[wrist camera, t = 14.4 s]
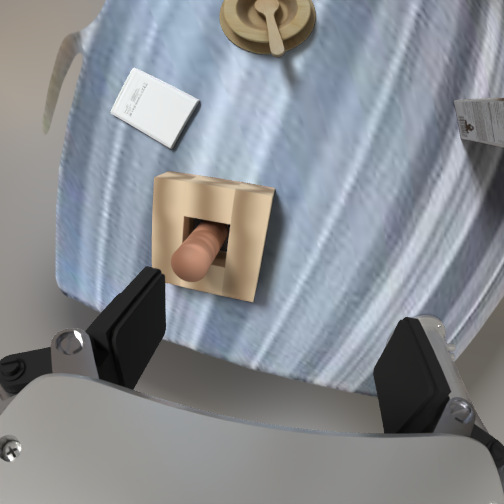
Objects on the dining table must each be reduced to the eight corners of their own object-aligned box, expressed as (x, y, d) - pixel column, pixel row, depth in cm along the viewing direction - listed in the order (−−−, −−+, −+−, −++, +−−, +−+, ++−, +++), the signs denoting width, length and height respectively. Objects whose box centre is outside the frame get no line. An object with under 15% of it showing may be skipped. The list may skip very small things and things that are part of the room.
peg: (230, 218, 44) (208, 252, 33) (226, 245, 46) (205, 285, 35) (201, 213, 44) (171, 244, 33) (198, 240, 46) (170, 277, 35)
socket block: (275, 188, 41) (272, 196, 36) (257, 285, 48) (253, 302, 43) (168, 171, 42) (154, 177, 37) (164, 265, 49) (152, 279, 44)
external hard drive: (174, 148, 41) (114, 113, 40) (201, 100, 38) (137, 68, 36) (169, 149, 40) (109, 113, 38) (198, 99, 36) (132, 66, 35)
